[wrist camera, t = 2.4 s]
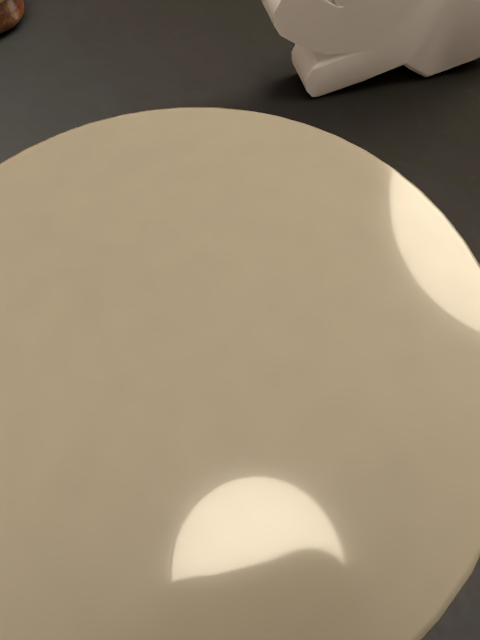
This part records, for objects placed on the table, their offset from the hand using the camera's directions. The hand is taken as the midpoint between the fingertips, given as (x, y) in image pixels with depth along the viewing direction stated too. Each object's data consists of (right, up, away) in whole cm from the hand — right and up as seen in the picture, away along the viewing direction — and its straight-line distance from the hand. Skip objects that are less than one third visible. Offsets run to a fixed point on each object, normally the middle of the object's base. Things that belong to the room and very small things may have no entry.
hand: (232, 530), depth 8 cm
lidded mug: (-1, -1, +9) cm, 9 cm away
